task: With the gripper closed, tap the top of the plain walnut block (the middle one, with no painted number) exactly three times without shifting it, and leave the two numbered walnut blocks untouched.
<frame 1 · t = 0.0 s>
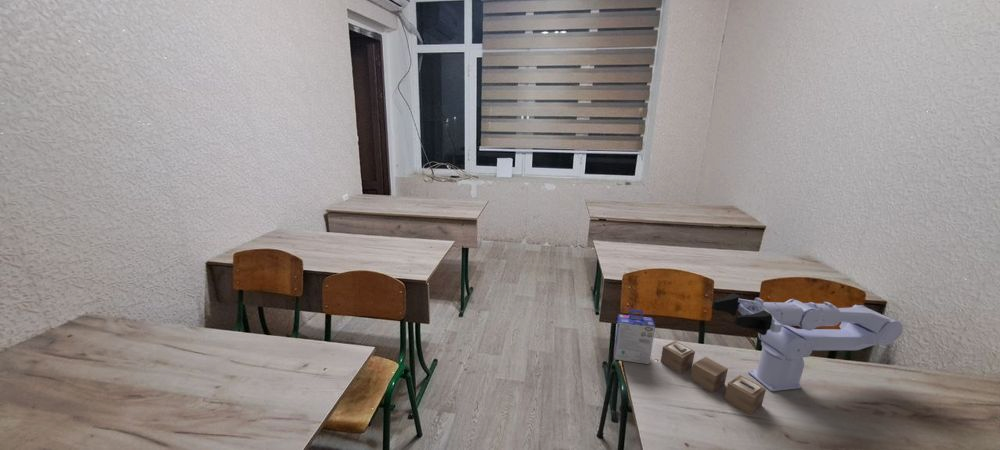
hand: (724, 312, 94), 22 cm above the table, tool horizontal, fingers open, 7 cm apart
ink cartridge box: (631, 357, 112), on the table
plain block: (707, 382, 102), on the table
numbered block seven: (676, 364, 109), on the table
numbered block one: (742, 402, 95), on the table
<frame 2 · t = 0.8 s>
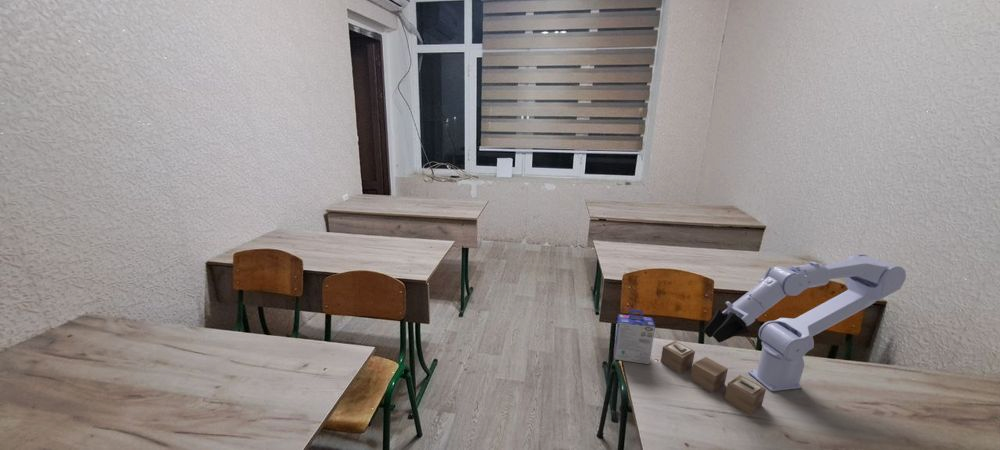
hand: (710, 336, 97), 14 cm above the table, tool tilted 50°, fingers open, 7 cm apart
nothing on the table moved.
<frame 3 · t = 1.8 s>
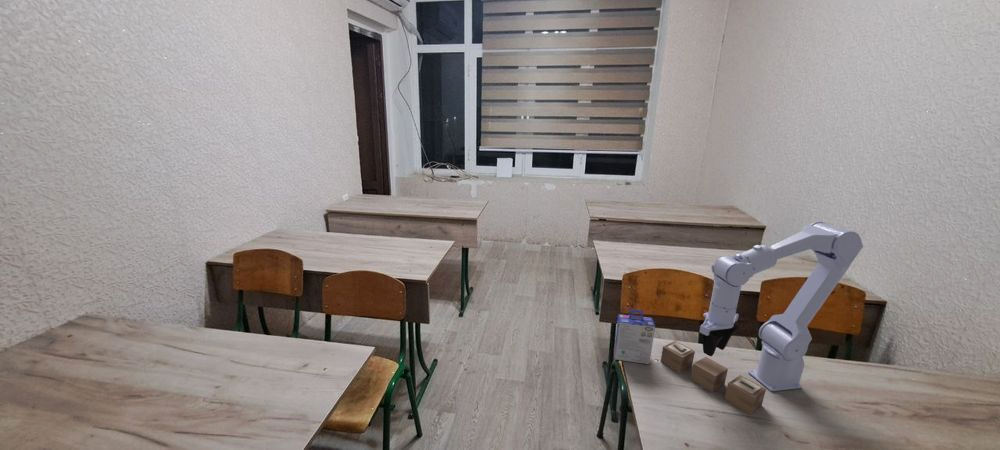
hand: (713, 351, 99), 9 cm above the table, tool pointing down, fingers open, 5 cm apart
nothing on the table moved.
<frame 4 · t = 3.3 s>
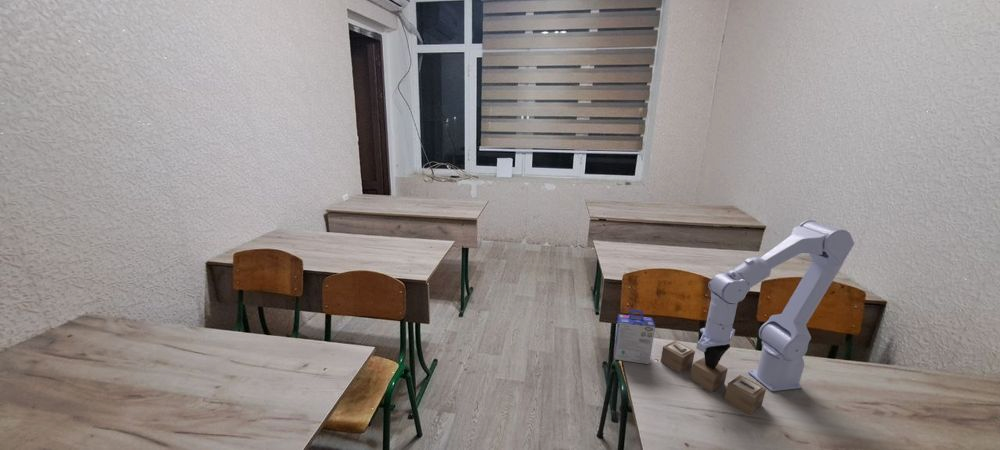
hand: (710, 366, 101), 5 cm above the table, tool pointing down, fingers closed
nothing on the table moved.
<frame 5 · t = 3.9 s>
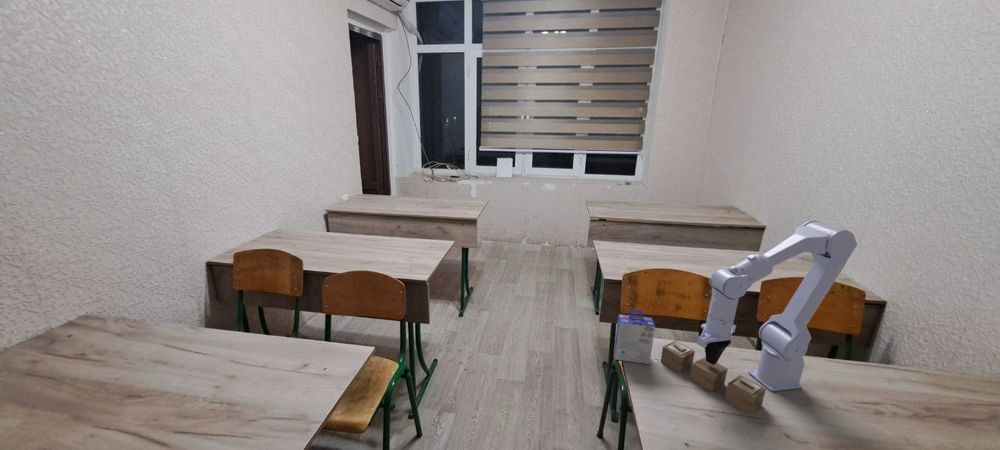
hand: (711, 362, 100), 6 cm above the table, tool pointing down, fingers closed
nothing on the table moved.
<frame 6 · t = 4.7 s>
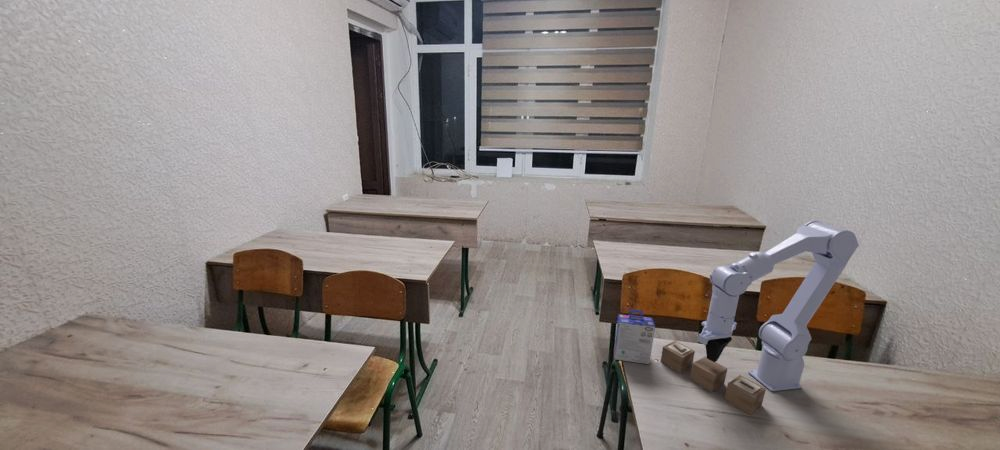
hand: (711, 359, 100), 7 cm above the table, tool pointing down, fingers closed
nothing on the table moved.
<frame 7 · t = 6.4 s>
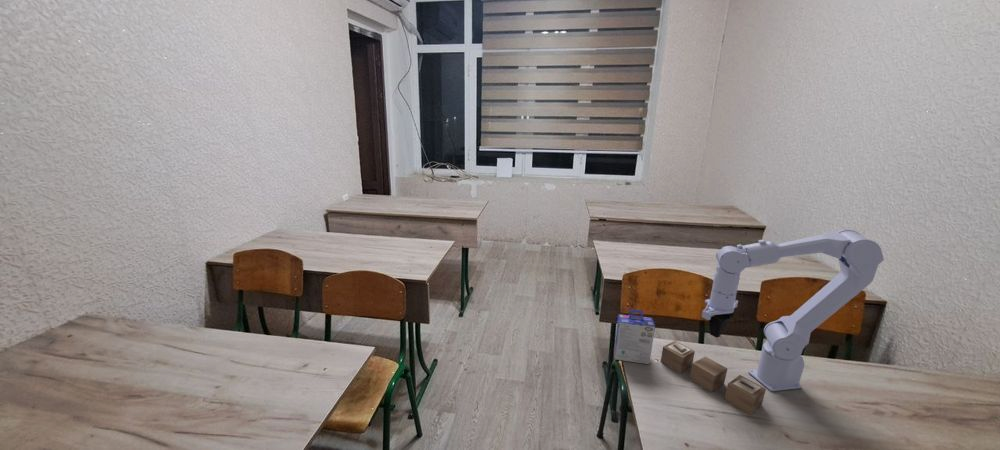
hand: (714, 335, 106), 10 cm above the table, tool pointing down, fingers closed
nothing on the table moved.
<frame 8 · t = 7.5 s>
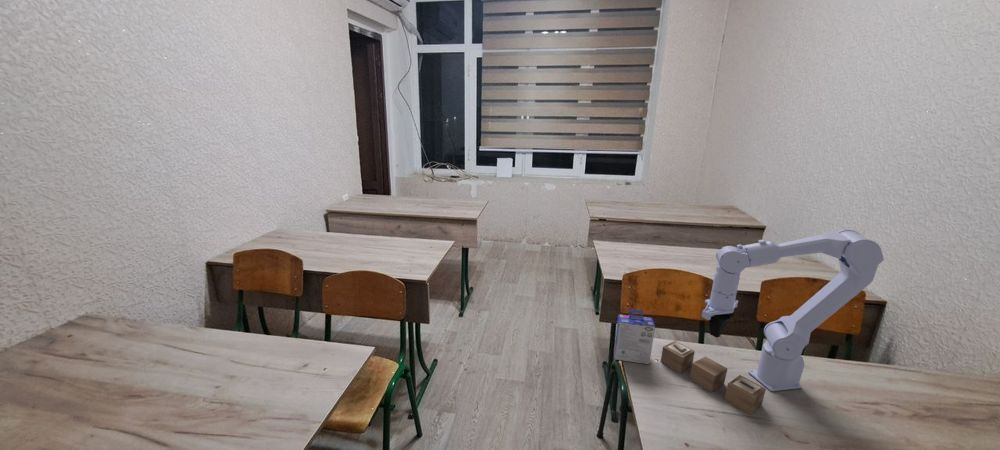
hand: (714, 335, 106), 10 cm above the table, tool pointing down, fingers closed
nothing on the table moved.
at the end: plain block moved 0.2 cm from its start; plain block tilted 0°; numbered block seven moved 0.2 cm from its start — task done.
